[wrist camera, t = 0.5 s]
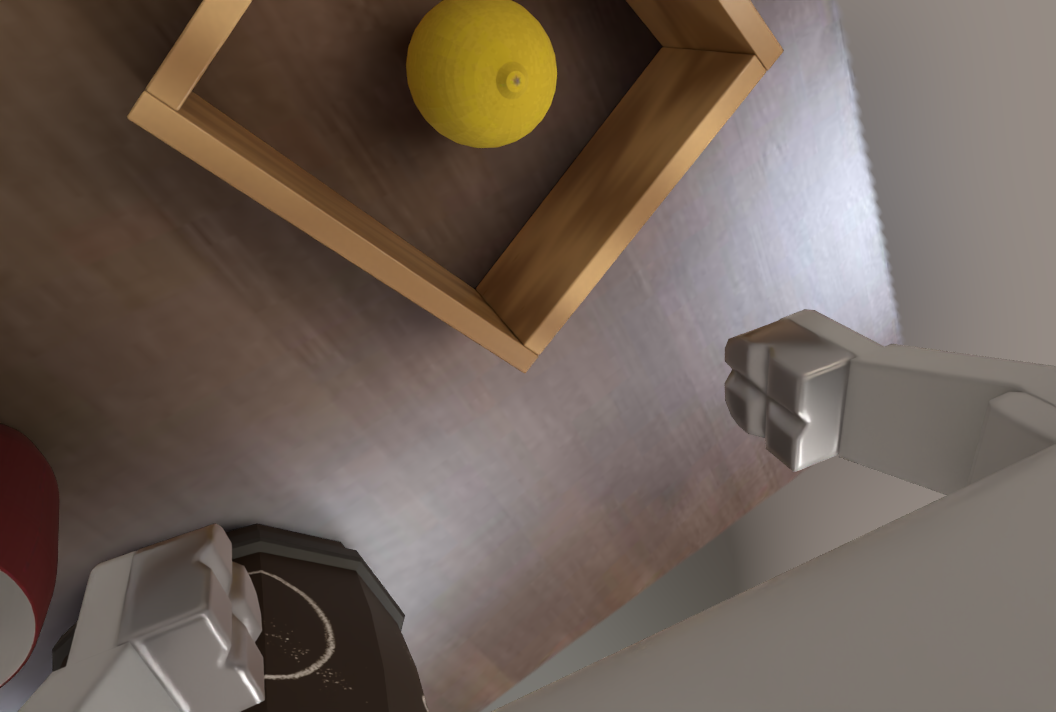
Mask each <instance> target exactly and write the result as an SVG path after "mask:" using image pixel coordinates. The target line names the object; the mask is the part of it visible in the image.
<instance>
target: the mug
mask: <svg viewBox="0 0 1056 712" xmlns="http://www.w3.org/2000/svg"><path fill="white" fill-rule="evenodd" d="M58 531H59V491H58V485H57V481H56V478H55V476H54V473H53V471H52V469H51V467H50V465H49V464H48V462H47V460H46V459H45V458H44V456H43V455H42V454H41V452H40V451H39V450H38V449H37V448H36V446H35V445H34V444H33V443H32V442H31V441H30V440H29V439H28V438H27V437H26V436H25V435H23V434H22V433H20V432H19V431H17V430H15V429H13V428H11V427H8V426H6V425H3V424H0V688H1V687H2V686H4V685H5V684H6V683H7V682H8V681H10V680H11V679H12V678H13V677H14V676H15V675H16V674H17V673H18V672H19V671H20V669H21V668H22V667H23V666H24V665H25V663H26V662H27V660H28V659H29V657H30V655H31V654H32V651H33V649H34V647H35V645H36V643H37V640H38V637H39V634H40V632H41V629H42V626H43V623H44V621H45V618H46V614H47V611H48V608H49V605H50V602H51V599H52V596H53V591H54V587H55V582H56V575H57V565H58Z"/></svg>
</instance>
